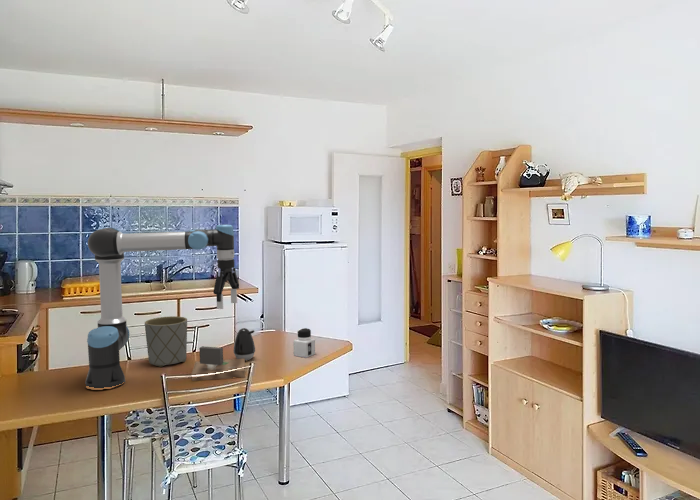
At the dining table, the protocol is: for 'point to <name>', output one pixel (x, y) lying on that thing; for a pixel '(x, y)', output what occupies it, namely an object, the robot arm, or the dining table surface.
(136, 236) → the robot arm
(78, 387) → the dining table surface
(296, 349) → the container
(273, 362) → the dining table surface
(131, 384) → the dining table surface
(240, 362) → the tuner board
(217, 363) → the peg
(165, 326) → the planter
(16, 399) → the dining table surface
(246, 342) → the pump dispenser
